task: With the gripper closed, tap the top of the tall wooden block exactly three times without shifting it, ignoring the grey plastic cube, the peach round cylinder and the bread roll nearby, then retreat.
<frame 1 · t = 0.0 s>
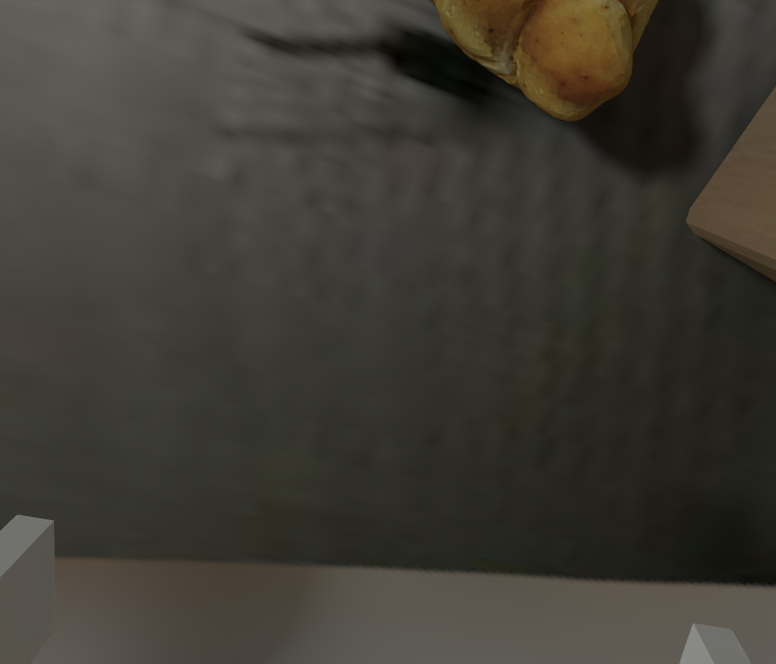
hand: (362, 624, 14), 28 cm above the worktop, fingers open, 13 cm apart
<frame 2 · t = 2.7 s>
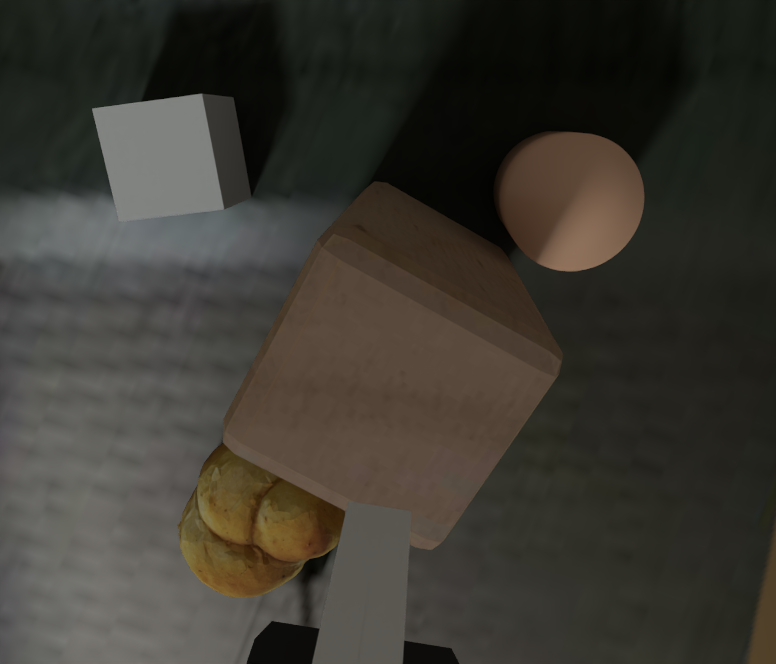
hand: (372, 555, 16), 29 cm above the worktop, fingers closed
grey plastic cube: (196, 154, 42), on the worktop
peach round cylinder: (550, 190, 41), on the worktop
bread roll: (261, 494, 49), on the worktop
wooden block: (404, 280, 44), on the worktop
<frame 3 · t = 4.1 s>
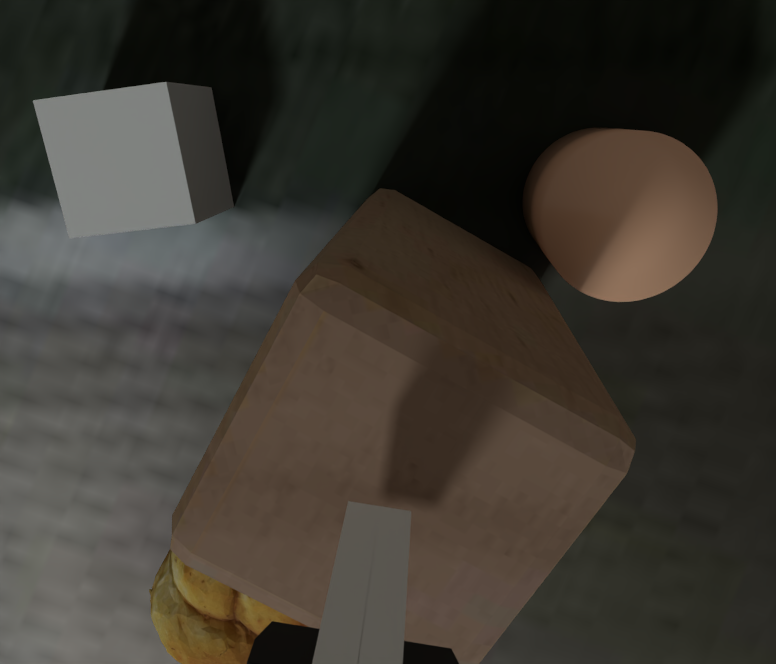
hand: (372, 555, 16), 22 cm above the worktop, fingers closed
grey plastic cube: (168, 155, 35), on the worktop
peach round cylinder: (591, 199, 34), on the worktop
bread roll: (249, 551, 43), on the worktop
wooden block: (415, 305, 37), on the worktop
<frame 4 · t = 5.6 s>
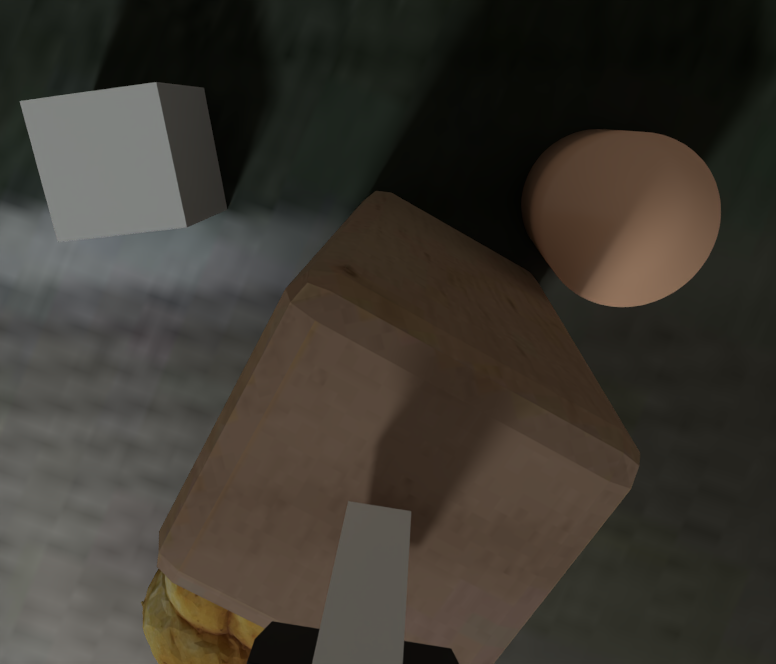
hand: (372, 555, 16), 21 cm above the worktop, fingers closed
grey plastic cube: (160, 157, 35), on the worktop
peach round cylinder: (591, 201, 34), on the worktop
bread roll: (243, 562, 42), on the worktop
wooden block: (412, 309, 36), on the worktop
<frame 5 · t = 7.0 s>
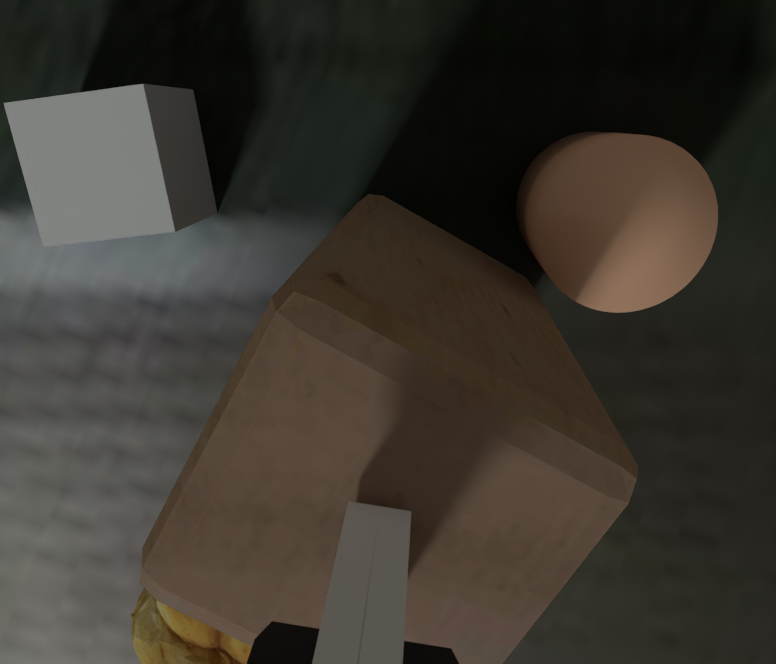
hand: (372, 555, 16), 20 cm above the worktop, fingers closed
grey plastic cube: (148, 160, 34), on the worktop
peach round cylinder: (587, 205, 33), on the worktop
bread roll: (235, 573, 41), on the worktop
wooden block: (405, 314, 36), on the worktop
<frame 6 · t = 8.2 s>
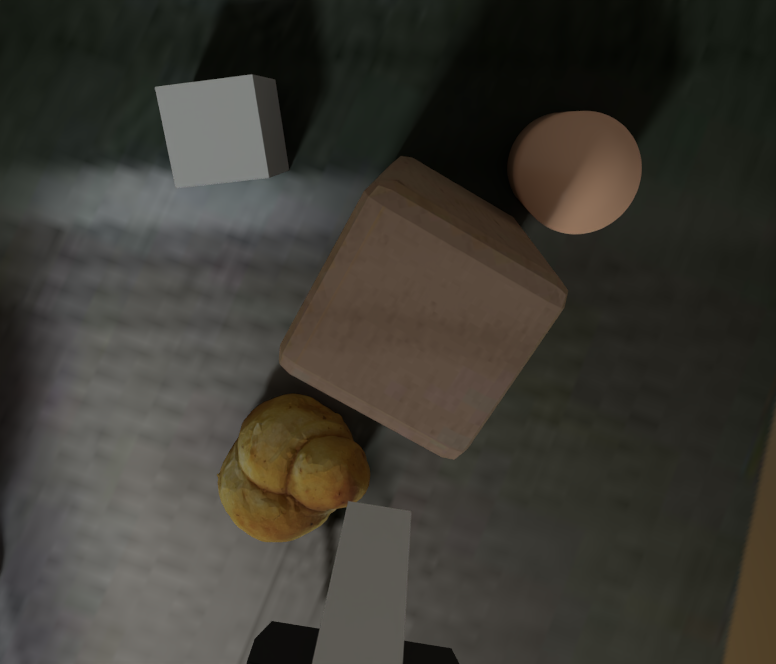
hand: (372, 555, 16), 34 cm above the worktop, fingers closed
grey plastic cube: (240, 130, 47), on the worktop
peach round cylinder: (559, 165, 46), on the worktop
bread roll: (291, 453, 54), on the worktop
wooden block: (426, 247, 48), on the worktop
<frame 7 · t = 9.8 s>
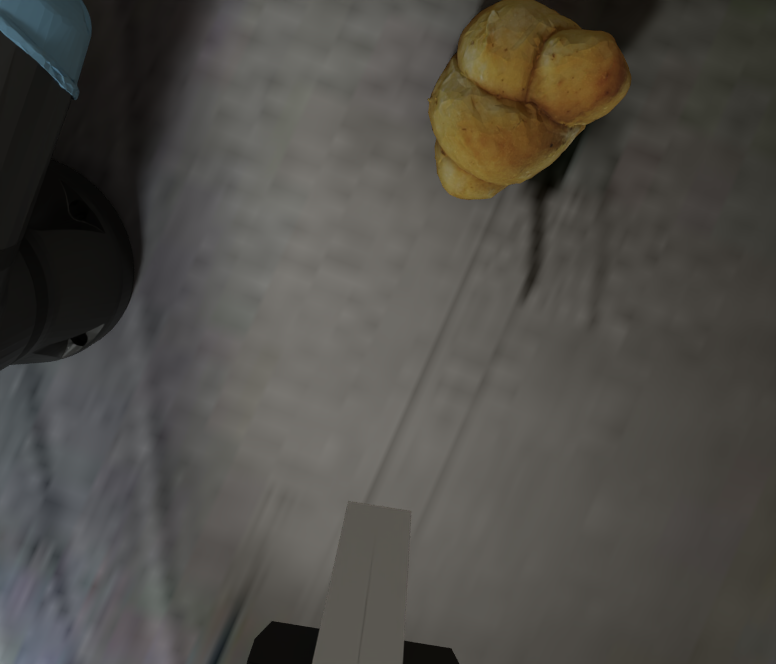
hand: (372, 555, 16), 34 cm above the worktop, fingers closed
bread roll: (499, 105, 45), on the worktop
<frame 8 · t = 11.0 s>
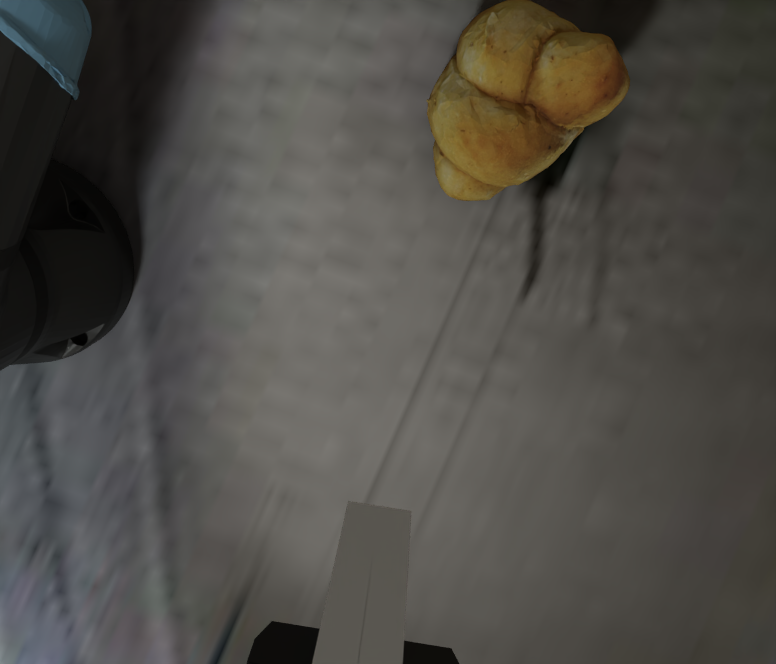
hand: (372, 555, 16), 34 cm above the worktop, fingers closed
bread roll: (498, 106, 46), on the worktop
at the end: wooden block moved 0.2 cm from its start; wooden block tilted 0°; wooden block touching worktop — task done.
